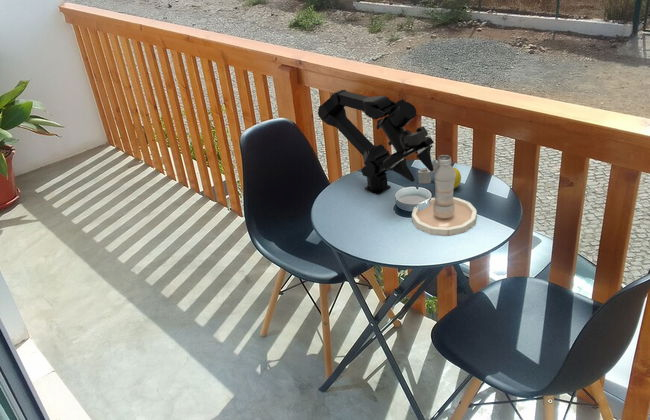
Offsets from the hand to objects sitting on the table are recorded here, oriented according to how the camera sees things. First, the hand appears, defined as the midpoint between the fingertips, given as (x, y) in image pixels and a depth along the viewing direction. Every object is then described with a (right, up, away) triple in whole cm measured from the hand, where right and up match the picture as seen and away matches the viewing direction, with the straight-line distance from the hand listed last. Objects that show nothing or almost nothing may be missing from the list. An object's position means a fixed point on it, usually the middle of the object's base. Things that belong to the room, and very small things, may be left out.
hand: (423, 176), depth 183 cm
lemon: (+12, -4, +15) cm, 20 cm away
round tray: (+6, -13, 0) cm, 14 cm away
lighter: (+5, -1, +20) cm, 21 cm away
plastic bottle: (+6, -13, 0) cm, 14 cm away
